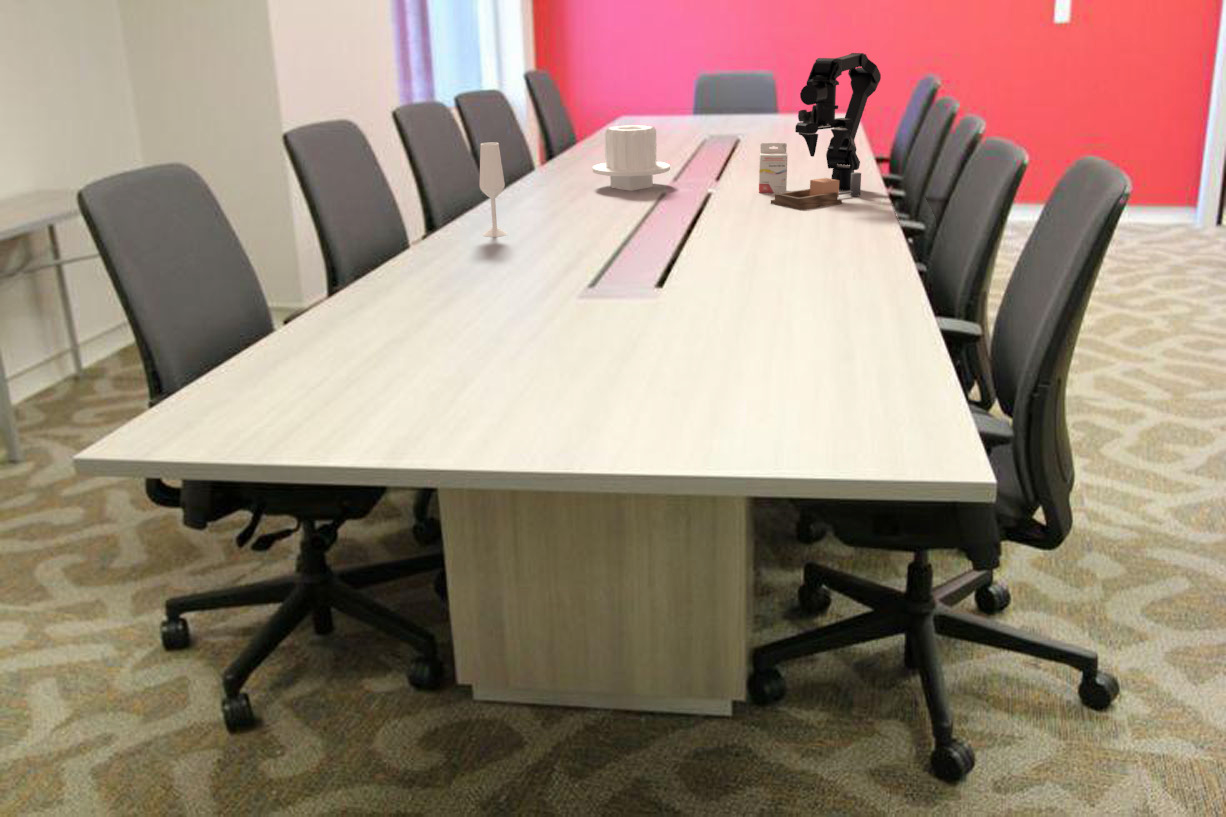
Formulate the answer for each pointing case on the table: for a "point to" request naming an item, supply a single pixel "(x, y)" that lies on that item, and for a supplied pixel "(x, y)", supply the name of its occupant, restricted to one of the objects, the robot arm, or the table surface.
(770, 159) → the ink cartridge box
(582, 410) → the table surface
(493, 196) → the champagne flute
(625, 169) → the flanged gear
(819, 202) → the wooden tray
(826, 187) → the tethered block
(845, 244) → the table surface
